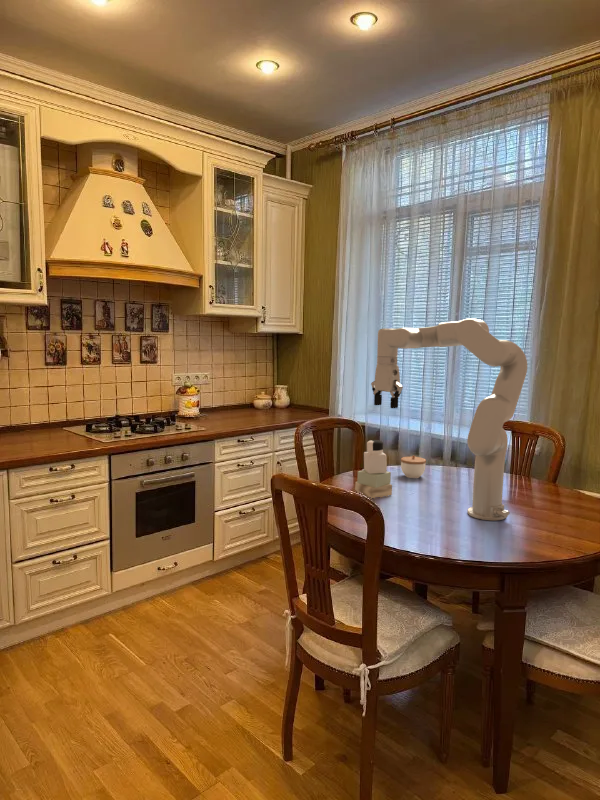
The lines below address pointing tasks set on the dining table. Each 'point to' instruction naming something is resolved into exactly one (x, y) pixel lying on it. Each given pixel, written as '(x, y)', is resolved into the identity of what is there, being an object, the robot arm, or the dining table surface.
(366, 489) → the tower bottom block
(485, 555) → the dining table surface
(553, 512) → the dining table surface
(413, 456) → the lidded jar
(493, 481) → the robot arm
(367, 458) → the medicine bottle
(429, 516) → the dining table surface
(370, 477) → the tower top block
